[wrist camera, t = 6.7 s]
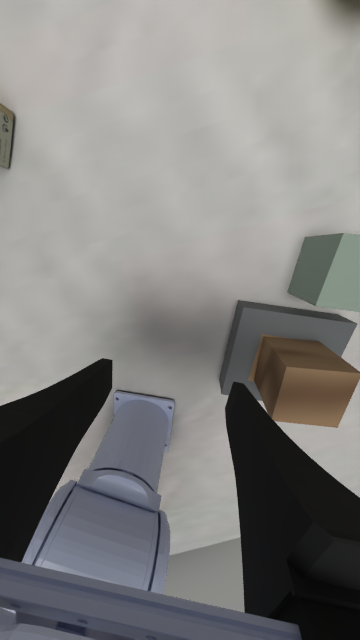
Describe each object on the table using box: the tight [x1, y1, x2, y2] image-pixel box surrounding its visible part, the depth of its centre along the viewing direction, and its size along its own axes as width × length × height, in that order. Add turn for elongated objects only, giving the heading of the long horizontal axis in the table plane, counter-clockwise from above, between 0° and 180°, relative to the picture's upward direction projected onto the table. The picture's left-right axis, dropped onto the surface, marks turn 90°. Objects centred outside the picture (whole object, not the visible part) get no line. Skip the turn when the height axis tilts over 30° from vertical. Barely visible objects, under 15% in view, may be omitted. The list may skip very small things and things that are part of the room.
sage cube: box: [288, 233, 360, 312], centre depth 16 cm, size 5×5×5 cm
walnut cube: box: [254, 337, 360, 428], centre depth 16 cm, size 5×5×5 cm
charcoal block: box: [219, 300, 357, 401], centre depth 20 cm, size 10×10×3 cm
